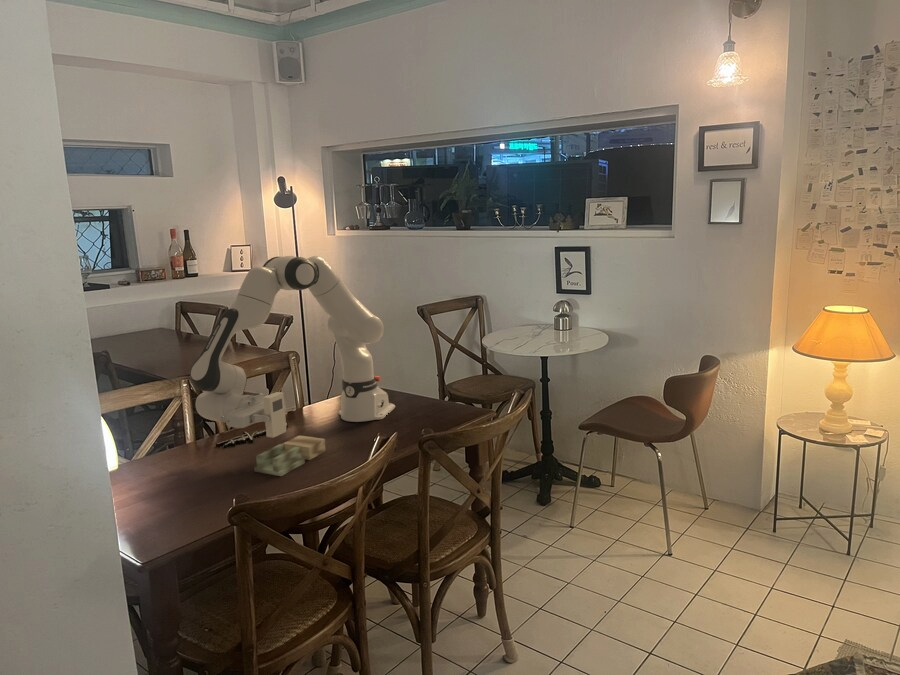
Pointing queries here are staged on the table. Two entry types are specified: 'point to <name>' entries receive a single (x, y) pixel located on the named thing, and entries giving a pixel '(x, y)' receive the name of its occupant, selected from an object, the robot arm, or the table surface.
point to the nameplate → (242, 438)
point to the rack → (279, 460)
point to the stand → (307, 446)
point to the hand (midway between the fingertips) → (277, 414)
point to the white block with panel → (275, 414)
